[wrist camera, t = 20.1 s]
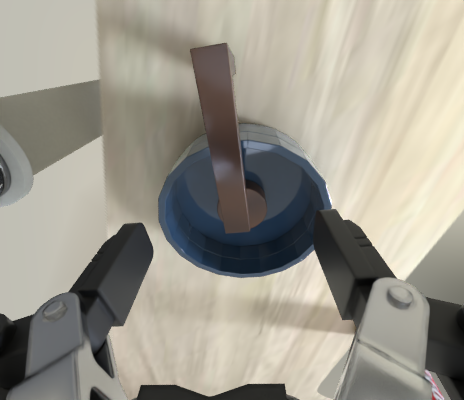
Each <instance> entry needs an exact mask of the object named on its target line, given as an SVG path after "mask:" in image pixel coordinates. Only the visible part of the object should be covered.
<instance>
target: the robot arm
mask: <svg viewBox="0 0 464 400" xmlns="http://www.w3.org/2000/svg"><path fill="white" fill-rule="evenodd" d="M10 186H11V174H10V171H9V168H8V166H7V164H6V162H5V160H4V159H3V157H2V156H1V154H0V197H1V196H2V195H4V194H5V193H7V191H8V190H9V188H10ZM313 245H314V249H315V252H316V254H317V257H318V259H319V262H320V264H321V267H322V269H323V272H324V274H325V277H326V280H327V282H328V285H329V287H330V290H331V292H332V295H333V297H334V300H335V302H336V305H337V307H338V310H339V312H340V315H341V317H342V320H353V321H354V323H355V326H356V328H357V329H356V332H355V335H354V338H353V341H352V344H351V347H350V350H349V353H348V357H347V360H346V363H345V366H344V369H343V372H342V375H341V378H340V381H339V384H338V387H337V390H336V393H335V396H334V399H333V400H432V386H431V383H430V381H429V380H428V379H426V378H425V370H428V371H432V372H435V373H436V374H437V376H438V378H439V379H440V381H441V383H442V385H443V386H444V388H445V390H446V392H447V393H448V395H449V397H450V399H451V400H464V304H463V305H459V304H454V303H449V302H445V301H440V300H435V299H431V298H428V297H425V296H424V295H423V294H422V293H421V292H420V291H419V290H418V289H417V288H415V287H414V286H412V285H411V284H409V283H407V282H405V281H403V280H400V279H397V278H396V277H395V275H394V274H393V273H392V271H391V270H390V268H389V267H388V266H387V264H386V263H385V261H384V260H383V259H382V257H381V256H380V254H379V253H378V252H377V250H376V249H375V247H374V246H372V243H371V242H370V240H369V239H368V238H367V236H366V235H365V233H364V232H363V231H362V229H361V228H360V227H359V226H357V225H356V224H355V223H353V222H352V221H350V220H343V219H342V218H341V216H340V215H339V213H338V212H337V210H336V209H329V210H317V211H316V215H315V223H314V232H313ZM152 258H153V246H152V243H151V241H150V239H149V236H148V234H147V231H146V229H145V227H144V225H143V224H142V223H128V224H124V225H123V226H122V227H121V228H120V230H119V231H118V233H117V234H116V235H113V236H112V237H111V238H110V239H109V240H107V241H106V242H105V243H104V244H103V245H102V247H101V248H100V249H99V251H98V252H97V254H96V255H95V256H94V258H93V259H92V262H90V263H89V264H88V266H87V267H86V268H85V270H84V271H83V273H82V274H81V275H80V277H79V278H78V279H77V281H76V282H75V284H74V285H73V286H72V288H71V289H70V290H69V292H67V293H62V294H59V295H57V296H55V297H53V298H51V299H50V300H48V301H47V302H46V303H44V304H43V305H42V306H41V307H40V308H39V309H38V310H37V312H36V313H35V314H33V315H30V316H27V317H24V318H21V319H18V320H15V321H11V320H10V319H9V318H7V317H6V316H5V315H4V314H0V400H128V398H127V396H126V393H125V391H124V390H123V388H122V385H121V383H120V379H119V375H118V370H117V366H116V361H115V357H114V352H113V348H112V343H111V339H110V336H109V335H108V333H109V330H110V329H111V327H112V326H124V323H125V321H126V319H127V316H128V314H129V312H130V309H131V307H132V305H133V302H134V300H135V298H136V296H137V293H138V291H139V289H140V286H141V284H142V282H143V279H144V277H145V275H146V272H147V270H148V268H149V265H150V263H151V261H152ZM132 400H299V399H297V398H295V397H293V396H290V395H287V394H286V390H285V384H247V385H244V386H241V387H238V388H235V389H232V390H229V391H227V392H224V393H221V394H218V395H215V396H211V397H208V396H205V395H202V394H199V393H196V392H194V391H191V390H188V389H185V388H182V387H180V386H177V385H141V387H140V390H139V394H138V397H137V398H134V399H132Z"/></svg>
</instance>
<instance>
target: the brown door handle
mask: <svg viewBox="0 0 464 400" xmlns="http://www.w3.org/2000/svg"><path fill="white" fill-rule="evenodd" d="M190 52H191V57H192V62H193V68H194V73H195V78H196V83H197V88H198V93H199V99H200V104H201V109H202V114H203V119H204V124H205V130H206V135H207V140H208V145H209V150H210V155H211V161H212V166H213V171H214V176H215V181H216V186H217V192H218V197H219V199H218V204H217V212H218V215H219V217H220V219H221V220H222V222H223V223H224V228H225V233H226V234H227V233H239V232H250V229H251V228H254V227H256V226H257V225H259V224H260V223H261V222H262V221H263V220H264V218H265V216H266V213H267V203H266V197H265V193H264V191H263V190H262V188H261V187H260V186H259V185H258V184H256V183H255V182H252V181H250V180H245V175H244V167H243V158H242V150H241V142H240V133H239V125H238V117H237V108H236V100H235V92H234V83H233V75H234V74H236V70H235V61H234V55H233V54H232V52H231V50H230V48H229V46H228V44H227V43H222V44H216V45H211V46H205V47H199V48H194V49H190Z"/></svg>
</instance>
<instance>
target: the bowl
mask: <svg viewBox="0 0 464 400" xmlns="http://www.w3.org/2000/svg"><path fill="white" fill-rule="evenodd" d="M238 125H239V133H240V142H241V150H242V158H243V167H244V175H245V180H250V181H252V182H255V183H256V184H258V185H259V186H260V187H261V188H262V190H263V191H264V193H265V197H266V203H267V213H266V216H265V218H264V220H263V221H262V222H261V223H260V224H259V225H257V226H256V227H254V228H251V229H250V232H239V233H227V234H226V233H225V228H224V223H223V222H222V220H221V219H220V217H219V215H218V212H217V204H218V199H219V197H218V192H217V186H216V181H215V176H214V171H213V166H212V161H211V155H210V150H209V145H208V140H207V135H206V133H205V134H203V135H202V136H200V137H199V138H197V139H196V140H195V141H193V142H192V143H191V144H190V145H189V146H188V147H187V148H186V150H185V151H184V152H183V153H182V154H181V155H180V157H179V158H178V160H177V161H176V163H175V165H174V166H173V168H172V170H171V171H170V173H169V175H168V176H167V178H166V181H165V183H164V186H163V188H162V191H161V193H160V195H159V199H158V213H159V223H160V225H161V228H162V230H163V232H164V235H165V237H166V240H167V241H168V242H169V243H170V244H171V245H172V247H173V248H174V249H175V250H176V251H177V252H178V254H179V255H181V256H182V257H183V258H185V259H186V260H188V261H189V262H191V263H192V264H194V265H195V266H197V267H199V268H202V269H204V270H207V271H210V272H212V273H215V274H219V275H224V276H231V277H238V278H245V277H262V276H266V275H270V274H273V273H277V272H281V271H284V270H286V269H288V268H290V267H291V266H293V265H295V264H297V263H299V262H301V261H302V260H304V259H305V258H306V257H307V256H308V255H309V254H310V253H311V252H312V251H314V250H315V249H314V245H313V232H314V223H315V215H316V211H317V210H329V209H331V208H332V203H331V199H330V196H329V192H328V189H327V186H326V182H325V180H324V179H323V177H322V176H321V174H320V173H319V171H318V170H317V168H316V167H315V165H314V164H313V162H312V160H311V159H310V158H309V157H308V156H307V154H306V153H305V152H304V150H303V149H302V148H301V147H300V146H299V145H298V143H296V142H295V141H294V140H293V139H291V138H290V137H289V136H287V135H286V134H284V133H282V132H280V131H278V130H276V129H273V128H270V127H267V126H263V125H258V124H248V123H241V124H238Z"/></svg>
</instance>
